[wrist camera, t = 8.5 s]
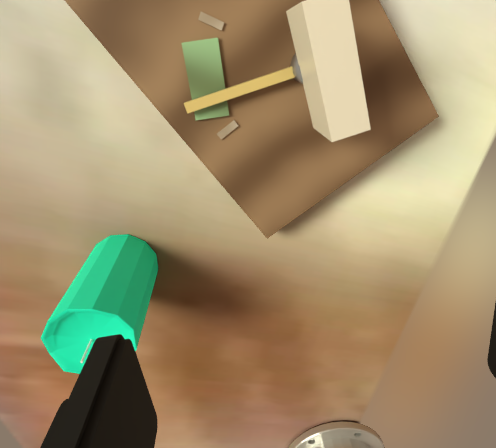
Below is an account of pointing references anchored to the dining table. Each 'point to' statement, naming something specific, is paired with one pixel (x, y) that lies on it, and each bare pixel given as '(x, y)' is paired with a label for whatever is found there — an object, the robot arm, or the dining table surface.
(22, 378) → the dining table surface
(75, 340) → the candle
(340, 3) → the wooden toy mallet
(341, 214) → the dining table surface
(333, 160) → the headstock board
